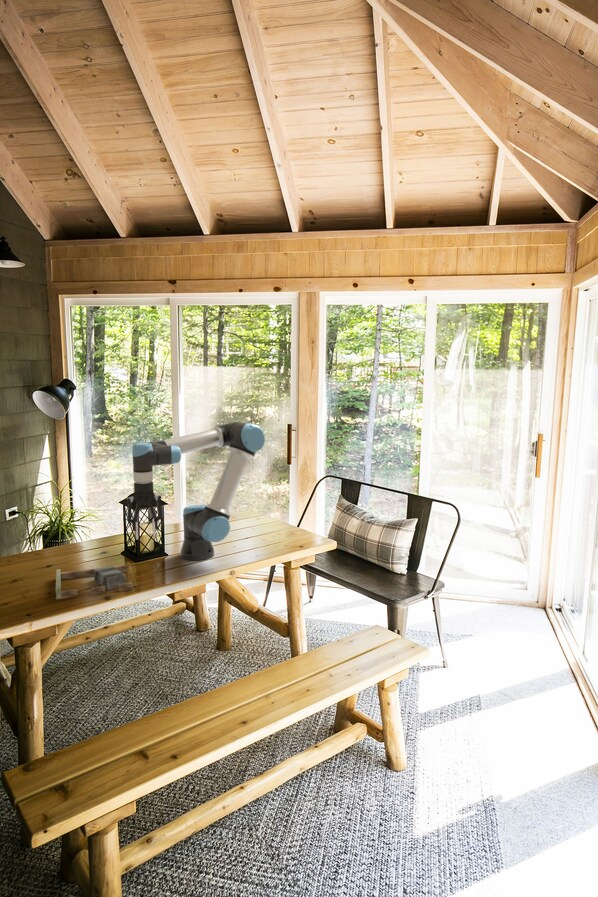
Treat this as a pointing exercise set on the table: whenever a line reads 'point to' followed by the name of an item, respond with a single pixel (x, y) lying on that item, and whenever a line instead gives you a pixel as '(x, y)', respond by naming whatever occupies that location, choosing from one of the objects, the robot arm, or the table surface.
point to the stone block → (109, 577)
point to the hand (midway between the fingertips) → (145, 537)
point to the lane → (85, 573)
